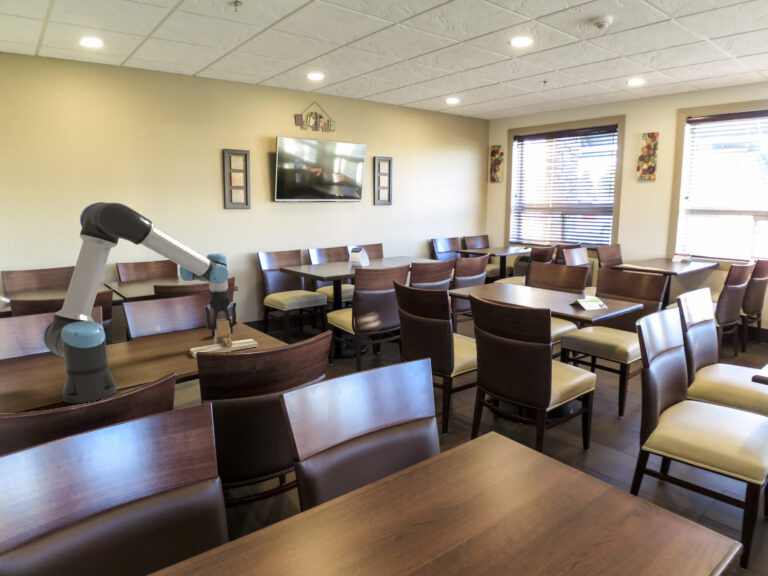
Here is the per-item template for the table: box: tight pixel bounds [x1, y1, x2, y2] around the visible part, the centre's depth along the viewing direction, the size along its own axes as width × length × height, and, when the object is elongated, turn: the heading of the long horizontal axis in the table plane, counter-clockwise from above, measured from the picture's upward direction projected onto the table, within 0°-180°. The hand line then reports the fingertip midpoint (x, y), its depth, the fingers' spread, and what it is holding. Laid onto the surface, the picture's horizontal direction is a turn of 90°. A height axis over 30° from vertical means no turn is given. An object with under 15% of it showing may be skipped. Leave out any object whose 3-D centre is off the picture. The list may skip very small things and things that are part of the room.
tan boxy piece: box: [215, 318, 233, 347], centre depth 211 cm, size 14×5×11 cm, turn 33°
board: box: [189, 338, 259, 359], centre depth 208 cm, size 8×26×2 cm, turn 123°
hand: (222, 342), depth 215 cm, fingers closed on tan boxy piece, 5 cm apart
